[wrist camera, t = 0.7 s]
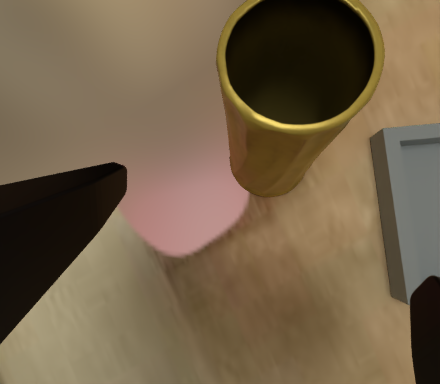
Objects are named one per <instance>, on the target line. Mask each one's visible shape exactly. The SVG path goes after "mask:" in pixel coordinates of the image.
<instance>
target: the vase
mask: <svg viewBox="0 0 440 384" xmlns="http://www.w3.org/2000/svg"><path fill="white" fill-rule="evenodd" d="M384 57H385V49H384V42H383V38H382V34H381V31H380V28H379V26H378V24H377V22H376V21H375V19H374V17H373V16H372V15H371V13H370V12H369V11H368V10H367V9H366V8H365V6H364V5H363V4H362V3H361V2H360V1H359V0H247V1H246V2H244V3H243V4H242V5H241V6H239V7H238V8H237V9H236V10H235V11H234V12H233V14H232V15H231V16H230V17H229V19H228V21H227V22H226V24H225V26H224V29H223V30H222V33H221V36H220V39H219V43H218V48H217V56H216V66H217V71H218V76H219V81H220V87H221V93H222V98H223V103H224V108H225V114H226V121H227V130H228V138H229V149H230V166H231V170H232V173H233V175H234V177H235V179H236V180H237V182H238V183H239V184H240V185H241V186H242V187H243V188H244V189H245V190H247V191H249V192H250V193H253V194H256V195H259V196H263V197H274V196H279V195H282V194H285V193H287V192H289V191H291V190H292V189H293V188H294V187H295V186H297V184H298V183H299V182H300V181H301V180H302V178H303V176H304V174H305V172H306V171H307V170H308V168H309V167H310V166H311V165H312V163H313V162H314V160H315V159H316V158H317V157H318V156H319V155H320V153H321V152H322V151H323V150H324V149H325V148H326V147H327V146H328V145H329V144H330V143H331V142H332V141H333V140H334V139H335V137H336V136H337V135H338V134H339V133H340V132H341V131H342V130H343V129H344V128H345V127H346V125H347V124H348V122H349V121H350V120H351V119H352V118H353V117H354V116H355V115H356V114H357V113H358V112H359V111H360V110H361V109H362V108H363V107H364V106H365V105H366V104H367V103H368V102H369V101H370V99H371V97H372V96H373V94H374V92H375V90H376V87H377V85H378V82H379V80H380V77H381V74H382V70H383V65H384Z"/></svg>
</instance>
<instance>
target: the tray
mask: <svg viewBox="0 0 440 384" xmlns="http://www.w3.org/2000/svg"><path fill="white" fill-rule="evenodd" d="M370 142H371V150H372V157H373V164H374V172H375V179H376V186H377V194H378V201H379V208H380V215H381V223H382V230H383V237H384V245H385V252H386V259H387V267H388V274H389V281H390V289H391V296H392V297H393V298H395V299H398V300H400V301H402V302H404V303H406V304H408V305H410V297H411V295H412V293H413V291H414V290H415V289H416V288H417V287H418V286H419V285H420V284H421V283H422V282H423V281H424V280H425V279H426V278H427V277H429V276H431V275H435V276H438V277H440V123H436V124H425V125H414V126H404V127H393V128H383V129H381V130H380V131H379V132H377V133H376V134H375V135H373V136H372V137H371V138H370Z"/></svg>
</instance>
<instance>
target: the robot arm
mask: <svg viewBox="0 0 440 384" xmlns="http://www.w3.org/2000/svg"><path fill="white" fill-rule="evenodd" d="M126 190H127V169H126V167H125V166H123V165H121V164H118V163H115V162H111V163H106V164H102V165H97V166H92V167H87V168H83V169H77V170H73V171H68V172H63V173H58V174H53V175H48V176H43V177H38V178H34V179H29V180H24V181H19V182H14V183H10V184H5V185H0V344H1V343H2V342H3V340H4V339H5V338H6V337H7V336H8V335H9V334H10V332H11V331H12V330H13V329H14V328H15V327H16V326H17V325H18V323H19V322H20V321H21V320H22V319H23V318H24V317H25V315H26V314H27V313H28V312H29V311H30V310H31V309H32V307H33V306H34V305H35V304H36V303H37V302H38V301H39V300H40V298H41V297H42V296H43V295H44V294H45V293H46V292H47V290H48V289H49V288H50V287H51V286H52V285H53V284H54V282H55V281H56V280H57V279H58V278H59V277H60V276H61V274H62V273H63V272H64V271H65V270H66V269H67V268H68V267H69V265H70V264H71V263H72V262H73V261H74V260H75V259H76V257H77V256H78V255H79V254H80V253H81V252H82V251H83V249H84V248H85V247H86V246H87V245H88V244H89V243H90V242H91V240H92V239H93V238H94V237H95V236H96V235H97V233H98V232H99V231H100V229H101V228H102V227H103V225H104V224H105V223H106V221H107V220H108V218H109V217H110V215H111V214H112V212H113V211H114V210H115V208H116V207H117V205H118V204H119V202H120V201H121V200H122V198H123V197H124V195H125V193H126ZM410 321H411V348H412V359H413V367H414V374H415V381H416V384H440V277H438V276H435V275H431V276H429V277H427V278H426V279H425V280H424V281H423V282H422V283H421V284H420V285H419V286H418V287H417V288H416V289H415V290H414V291H413V293H412V295H411V297H410Z"/></svg>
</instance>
